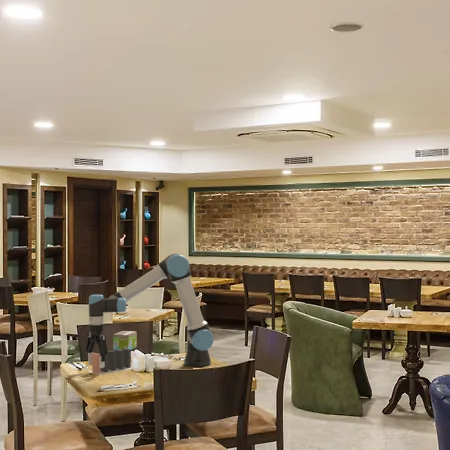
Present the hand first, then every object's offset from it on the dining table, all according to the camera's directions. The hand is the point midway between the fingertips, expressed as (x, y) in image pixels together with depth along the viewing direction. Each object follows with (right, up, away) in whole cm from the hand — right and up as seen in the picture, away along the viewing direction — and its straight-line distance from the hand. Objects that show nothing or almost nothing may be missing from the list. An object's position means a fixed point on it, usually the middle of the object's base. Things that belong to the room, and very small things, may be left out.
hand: (96, 366), depth 368 cm
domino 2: (+3, -3, +4) cm, 6 cm away
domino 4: (+11, -3, +11) cm, 15 cm away
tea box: (+9, -4, +46) cm, 47 cm away
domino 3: (+7, -3, +7) cm, 11 cm away
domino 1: (0, -3, 0) cm, 3 cm away
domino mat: (+7, -4, +7) cm, 11 cm away
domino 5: (+14, -3, +14) cm, 20 cm away
